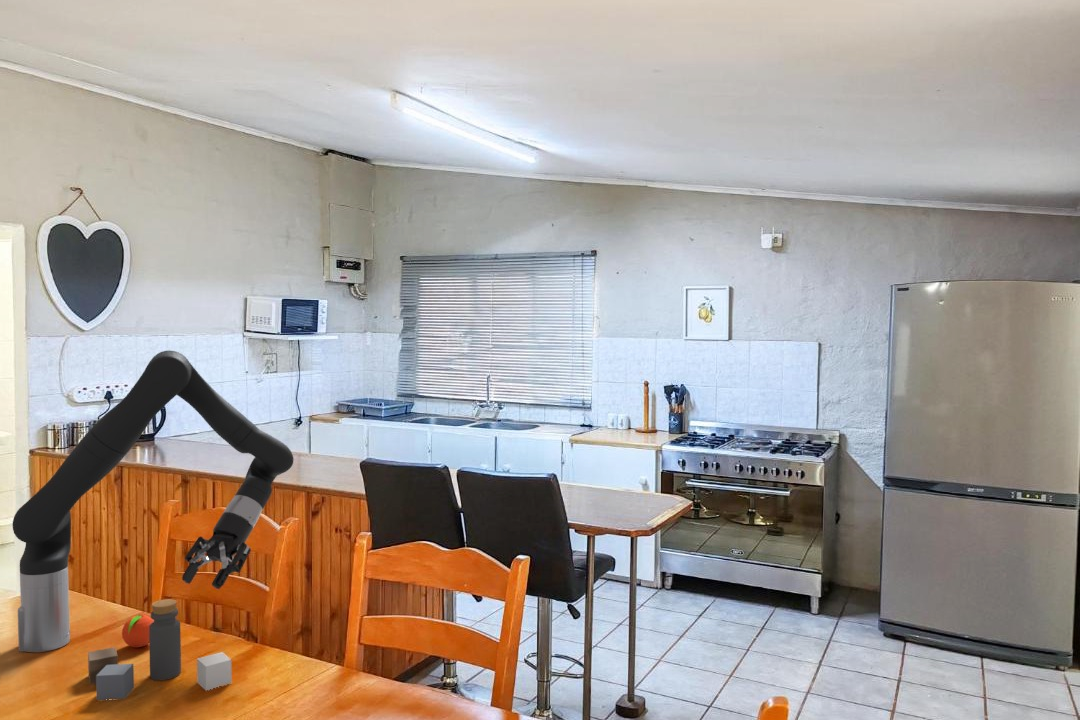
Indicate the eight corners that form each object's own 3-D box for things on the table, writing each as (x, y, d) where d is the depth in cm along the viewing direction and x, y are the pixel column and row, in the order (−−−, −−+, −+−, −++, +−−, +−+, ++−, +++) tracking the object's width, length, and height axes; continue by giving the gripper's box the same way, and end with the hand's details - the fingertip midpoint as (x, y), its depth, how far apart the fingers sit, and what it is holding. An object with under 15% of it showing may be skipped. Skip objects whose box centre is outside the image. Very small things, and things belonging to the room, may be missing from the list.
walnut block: (90, 685, 164) (89, 660, 164) (88, 676, 169) (88, 652, 168) (118, 679, 167) (117, 655, 167) (116, 670, 171) (115, 647, 171)
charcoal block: (96, 701, 158) (96, 675, 157) (107, 689, 163) (106, 664, 162) (124, 700, 158) (123, 674, 158) (133, 688, 163) (133, 663, 163)
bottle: (169, 681, 166) (167, 608, 165) (143, 679, 167) (142, 606, 166) (187, 669, 172) (185, 599, 171) (162, 667, 173) (160, 596, 172)
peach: (144, 654, 179) (144, 622, 179) (113, 654, 179) (112, 622, 179) (162, 640, 187) (161, 609, 187) (132, 640, 187) (131, 609, 187)
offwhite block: (206, 691, 162) (205, 666, 162) (197, 682, 166) (197, 658, 165) (231, 683, 165) (231, 659, 165) (222, 675, 169) (221, 651, 169)
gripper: (205, 508, 188) (165, 571, 178) (254, 514, 182) (215, 580, 172) (223, 525, 193) (185, 588, 183) (271, 532, 187) (234, 597, 177)
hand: (200, 584), depth 177 cm, fingers open, 8 cm apart
